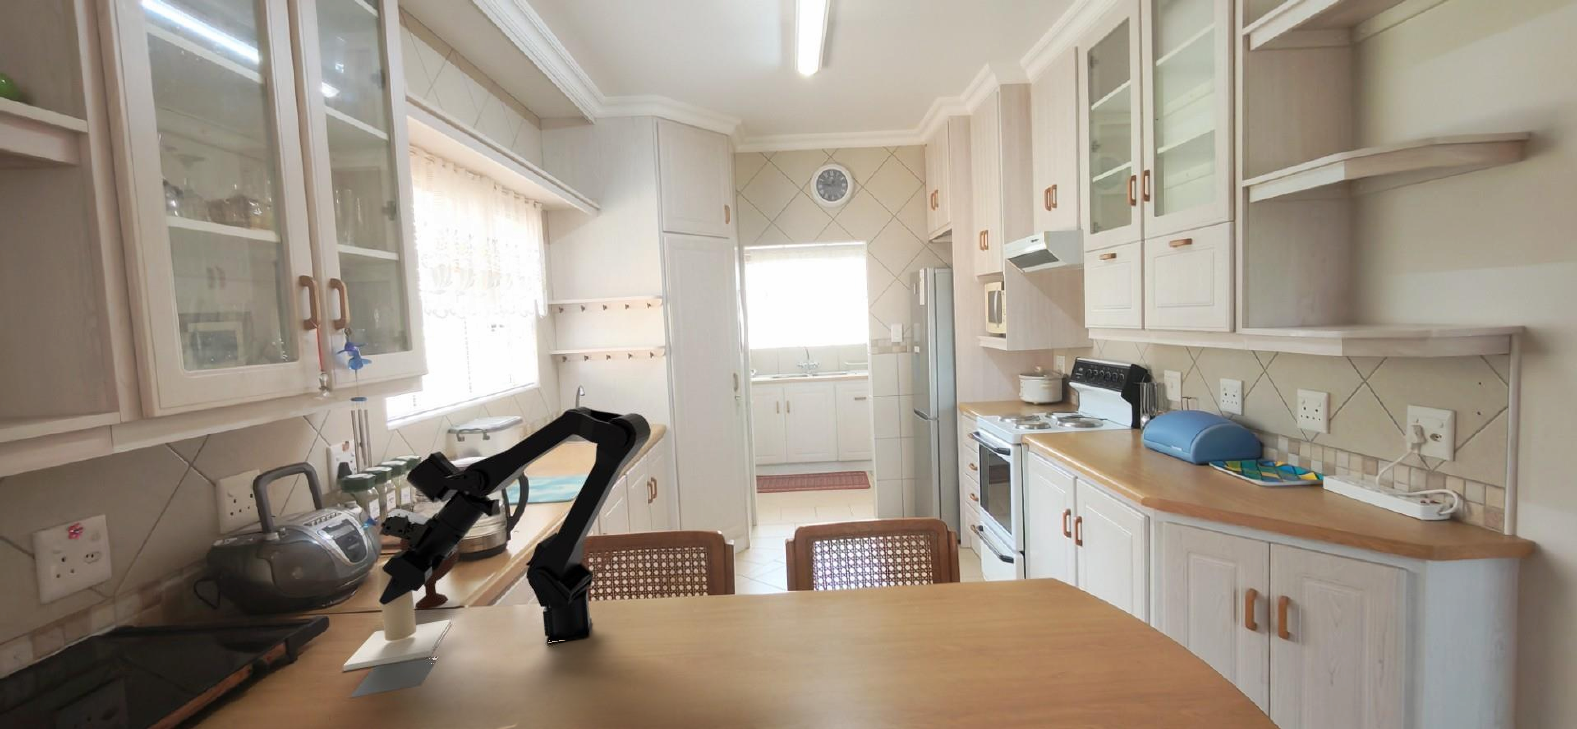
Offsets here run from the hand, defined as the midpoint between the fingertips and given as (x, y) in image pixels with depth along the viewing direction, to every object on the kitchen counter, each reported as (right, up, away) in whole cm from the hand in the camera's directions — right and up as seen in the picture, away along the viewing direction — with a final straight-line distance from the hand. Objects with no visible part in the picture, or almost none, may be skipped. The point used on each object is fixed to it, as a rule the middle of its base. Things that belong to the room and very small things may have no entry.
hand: (387, 597), depth 103 cm
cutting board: (+2, -8, +1) cm, 9 cm away
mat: (+7, -8, -9) cm, 15 cm away
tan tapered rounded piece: (+2, -6, +1) cm, 7 cm away
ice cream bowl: (-3, -8, +19) cm, 21 cm away
